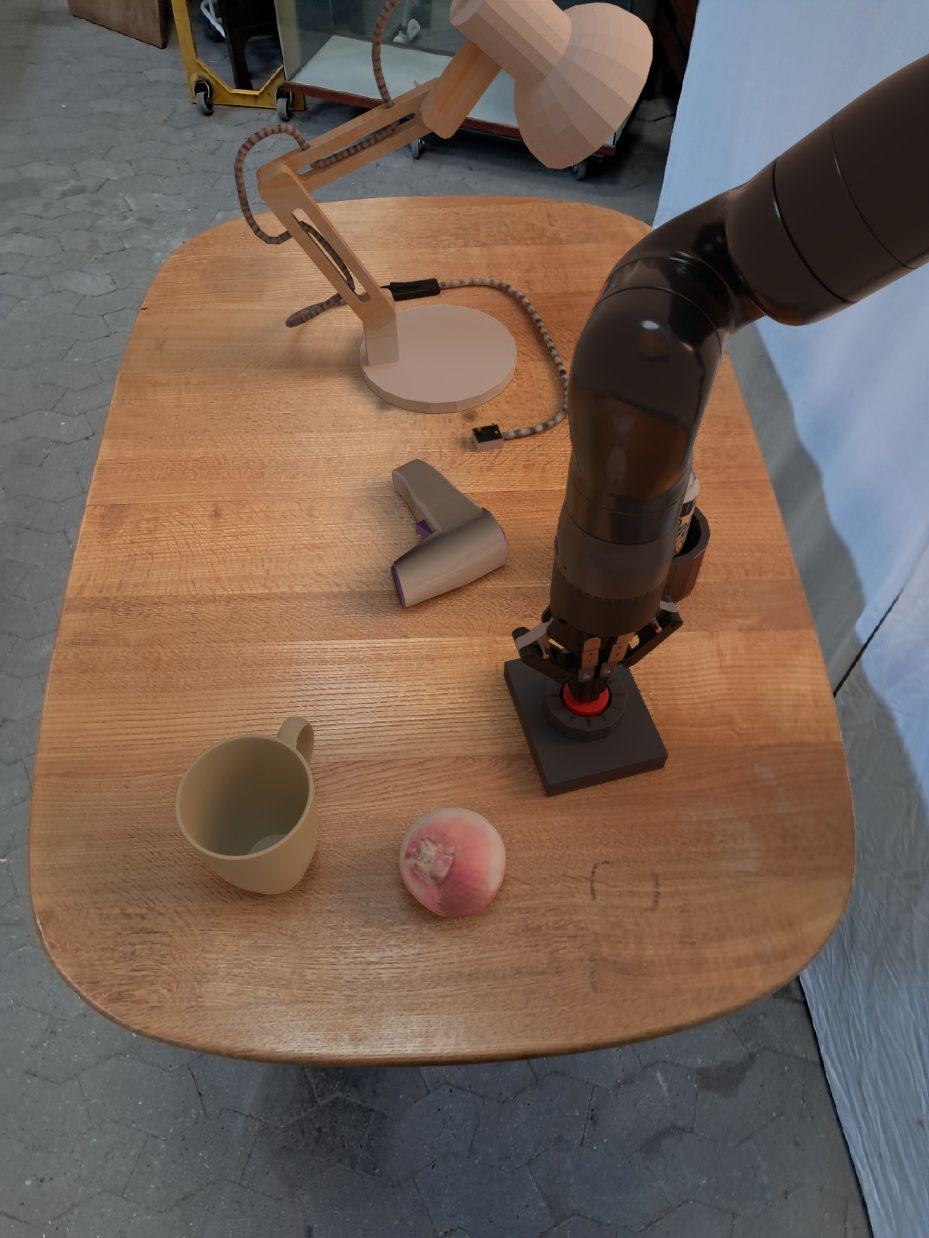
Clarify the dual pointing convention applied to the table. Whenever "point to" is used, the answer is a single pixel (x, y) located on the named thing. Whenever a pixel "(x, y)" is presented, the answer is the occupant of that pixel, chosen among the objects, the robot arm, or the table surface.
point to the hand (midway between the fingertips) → (585, 692)
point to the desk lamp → (545, 112)
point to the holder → (688, 559)
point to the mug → (253, 808)
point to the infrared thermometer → (443, 536)
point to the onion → (453, 861)
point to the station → (584, 731)
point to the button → (585, 704)
